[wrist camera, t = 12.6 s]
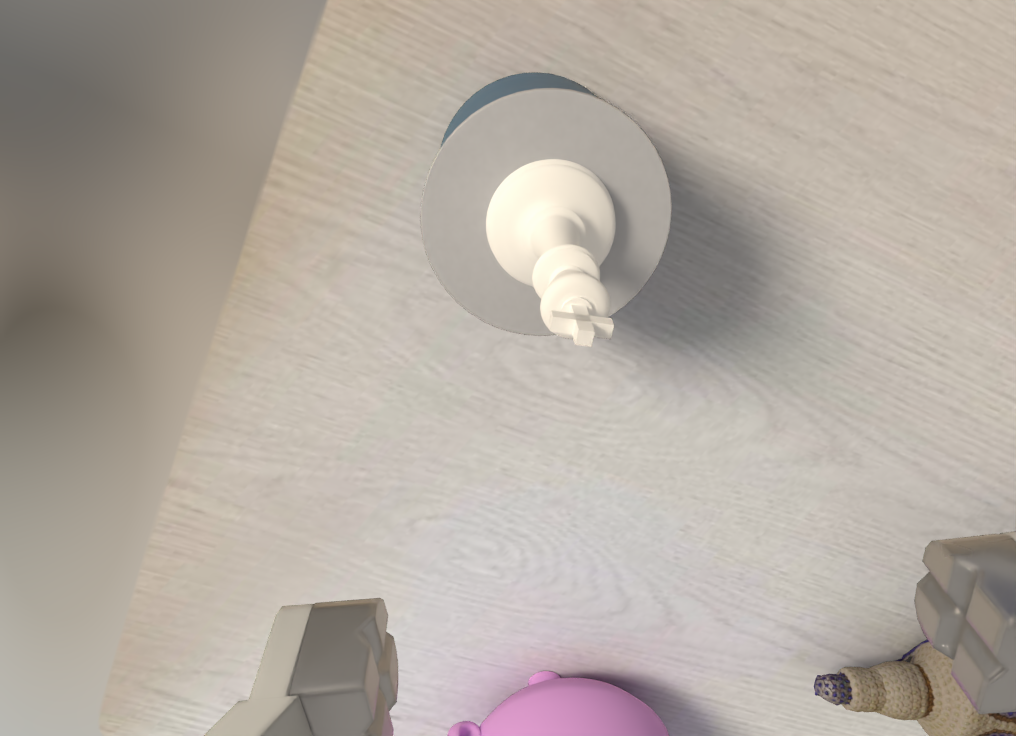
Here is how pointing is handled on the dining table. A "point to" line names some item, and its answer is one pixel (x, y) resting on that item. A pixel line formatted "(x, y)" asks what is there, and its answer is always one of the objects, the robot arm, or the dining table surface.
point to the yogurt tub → (517, 142)
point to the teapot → (567, 711)
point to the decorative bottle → (914, 695)
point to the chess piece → (557, 243)
